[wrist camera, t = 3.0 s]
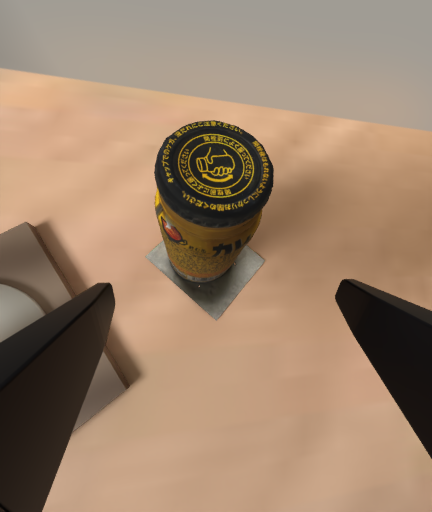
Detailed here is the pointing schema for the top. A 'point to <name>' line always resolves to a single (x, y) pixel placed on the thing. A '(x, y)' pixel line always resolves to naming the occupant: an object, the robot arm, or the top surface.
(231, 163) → the condiment
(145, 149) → the top surface
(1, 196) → the top surface
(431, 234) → the top surface
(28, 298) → the brown flat square slab
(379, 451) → the top surface
